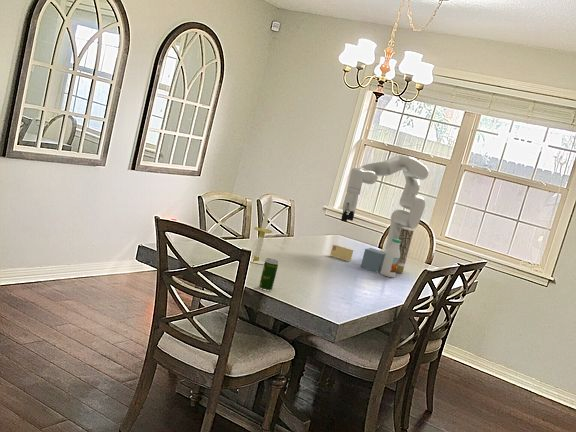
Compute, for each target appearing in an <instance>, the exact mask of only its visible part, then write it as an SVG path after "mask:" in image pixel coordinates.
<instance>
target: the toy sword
mask: <svg viewBox="0 0 576 432" xmlns="http://www.w3.org/2000/svg"><path fill="white" fill-rule="evenodd" d="M272 203H273V195H272V193H271V194H270V196H269V197H268V198H267V202H266V205H265V206H266V207H265V210H264V214H263V218H262V224H261V226H260V227H259V226H255V227H254V228H253V229H254V230H256V231H257V232H259V234H258V238H257V243H256V247H255V251H254V255H253V258H254V259H253V262H254V261H259V260H260V257H261V253H262V248H263V244H264V240H265V235H266V234H272V233H273V231H272V230H270V229H267V225H268V220H269V217H270V211H271V208H272Z"/></svg>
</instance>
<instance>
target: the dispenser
mask: <svg viewBox="0 0 576 432" xmlns="http://www.w3.org/2000/svg"><path fill="white" fill-rule="evenodd" d="M385 254H386V252H384V250H383V251H382V250H379V249H376V248H373V247H368V248H364V252H363V256H362V261H361V265H360V267H361V268H362V269H366V270H368V271H369V270H370V271H373V272H376V273H381V269H382V265H383V262H384V258H385Z"/></svg>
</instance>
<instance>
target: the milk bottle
mask: <svg viewBox="0 0 576 432" xmlns="http://www.w3.org/2000/svg"><path fill="white" fill-rule="evenodd" d="M400 243H401V240H399V239H395V238H393V239H392V244H391V246H390V247H389V249H388V250H387V252H386V254H385V258H384V262H383V265H382V269H381V271H380V275H382V276H385V277H389V278H396V277H395V276H396V270H397V267H398V263H399V259H400V249H399V245H400Z"/></svg>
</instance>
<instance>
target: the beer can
mask: <svg viewBox="0 0 576 432" xmlns="http://www.w3.org/2000/svg"><path fill="white" fill-rule="evenodd" d="M264 262H265V263H264V265H263V267H262V268H263V269H262V273H261V276H260V280H259V285H258V287H260V288H262V289H266V290H271V291H272V290H273V287H274V283H275V279H276V275H277V270H278V267H279V260H277V259H275V258H270V257H267V258H265V260H264ZM260 288H259V289H260ZM262 289H261V290H262Z"/></svg>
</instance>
